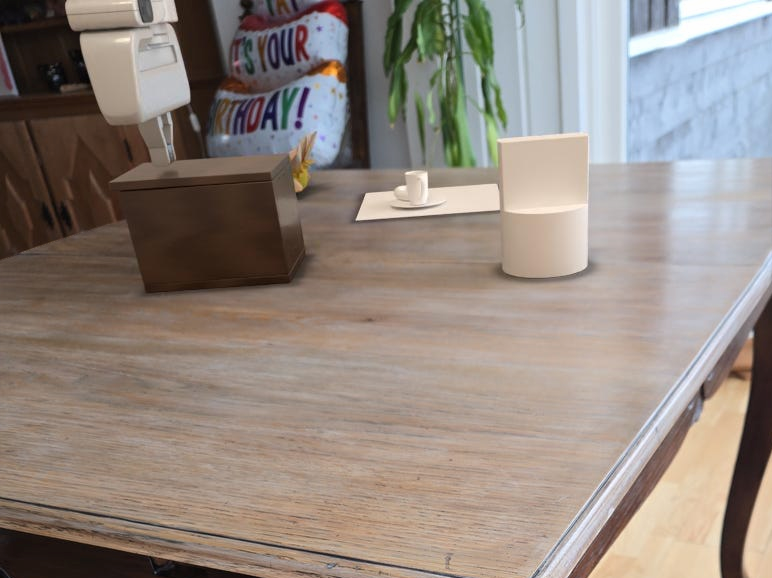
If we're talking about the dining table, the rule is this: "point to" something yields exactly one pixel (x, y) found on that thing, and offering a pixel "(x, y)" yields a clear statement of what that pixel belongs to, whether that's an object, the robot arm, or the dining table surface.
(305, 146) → the decorative flower
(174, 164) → the chest lid
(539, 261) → the base with upright slab
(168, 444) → the dining table surface
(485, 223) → the dining table surface
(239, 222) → the chest
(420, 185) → the teacup and saucer
